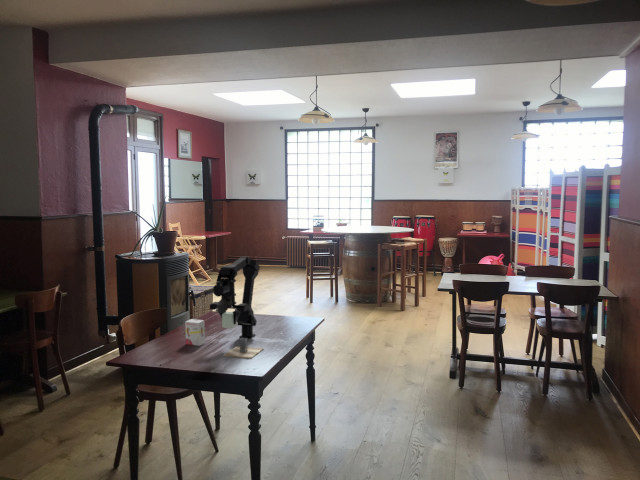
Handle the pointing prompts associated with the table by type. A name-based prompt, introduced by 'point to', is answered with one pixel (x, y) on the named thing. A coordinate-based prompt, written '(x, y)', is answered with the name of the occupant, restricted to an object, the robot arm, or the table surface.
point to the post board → (249, 354)
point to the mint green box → (228, 320)
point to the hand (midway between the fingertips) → (229, 323)
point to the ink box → (195, 332)
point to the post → (243, 345)
